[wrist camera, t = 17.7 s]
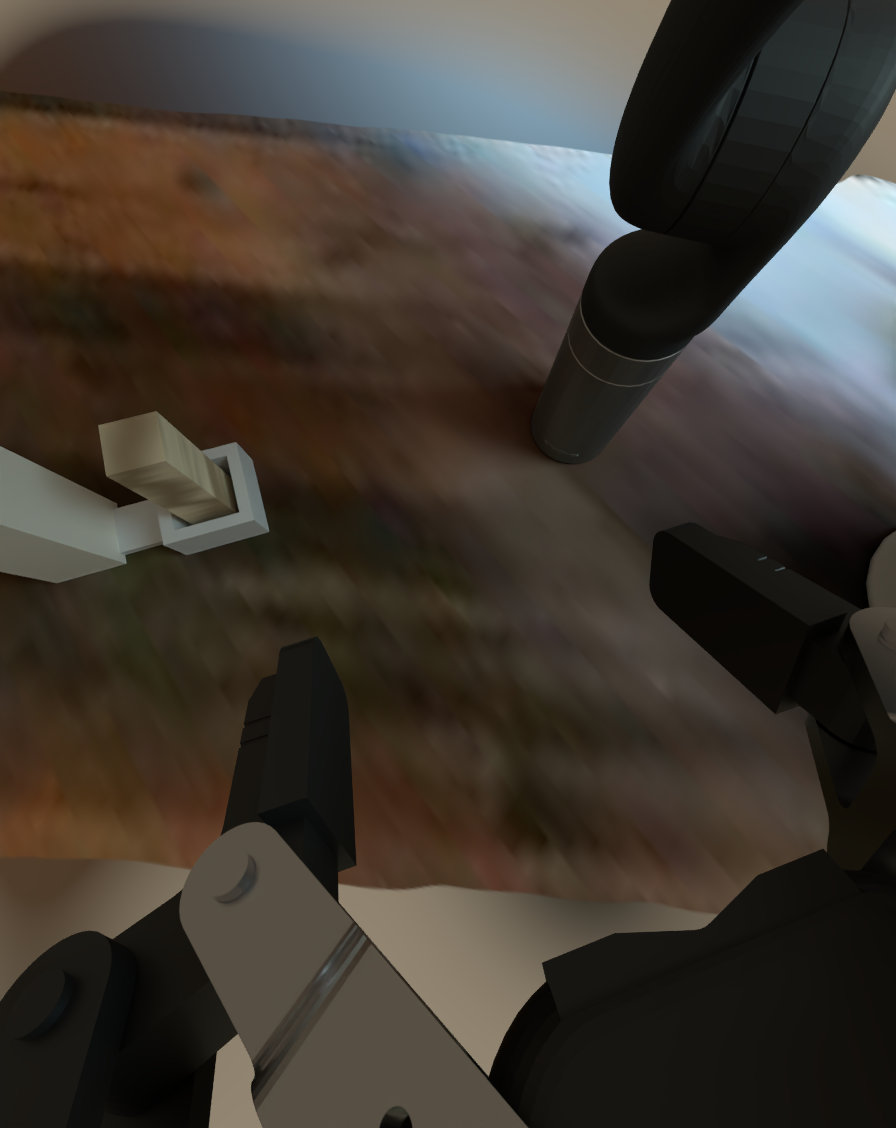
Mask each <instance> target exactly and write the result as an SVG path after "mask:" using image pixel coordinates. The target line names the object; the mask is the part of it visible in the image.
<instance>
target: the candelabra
mask: <svg viewBox="0 0 896 1128" xmlns="http://www.w3.org/2000/svg"><path fill="white" fill-rule="evenodd" d="M866 588H867V595H868V603H869V608H871V607H893V608H896V531H895V532H893V533H892V534H890V535H889V536H887V537H886V538H885V539H884V540H883V541H882V543H881V544H880V546H879V547H878V549H877V550H876V552H875V554H874V555H873V557H872V558H871V560H870V565H869V570H868V575H867V580H866Z"/></svg>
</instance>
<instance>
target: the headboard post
mask: <svg viewBox="0 0 896 1128" xmlns="http://www.w3.org/2000/svg"><path fill="white" fill-rule="evenodd" d="M201 452H203V453H204V454H205V455H206V456H207V457H208V458H209V459H210V460H212V461H213V462H214V463H215V464H216V465H217V466H218V467H219V468H221V469H222V470H223V471H224V472H225V473H226V474H227V475H228V476H231V477H232V481H233V486H234V490H235V495H236V499H237V504H238V508H239V513H235V514H232V515H228V516H224V517H221V518H217V519H213V520H210V521H206V522H203V523H199V524H195V525H193V524H191V523H189V522H188V521H186V520H184V519H182V518H180V517H179V516H177V515H175V514H173V513H171V512H170V511H168V510H166V509H164V508H162V507H161V506H159V505H157V504H155V503H153V502H152V501H150V500H146V501H142V502H138V503H135V504H131V505H127V506H123V507H120V508H118V507H117V503H115V502H113V501H111V500H109V499H107V498H105V497H103V496H101V495H99V494H96V493H94V492H92V491H90V490H88V489H86V488H84V487H82V486H80V485H78V484H76V483H74V482H72V481H70V480H68V479H66V478H64V477H62V476H60V475H58V474H56V473H54V472H52V471H50V470H48V469H46V468H44V467H42V466H39V465H37V464H35V463H33V462H31V461H29V460H27V459H25V458H23V457H21V456H19V455H17V454H15V453H13V452H11V451H9V450H7V449H5V448H3V447H1V446H0V572H4V573H9V574H14V575H19V576H24V577H29V578H34V579H39V580H44V581H49V582H54V583H60V582H63V581H67V580H70V579H74V578H78V577H81V576H85V575H88V574H92V573H95V572H99V571H103V570H106V569H110V568H113V567H117V566H120V565H124V564H127V563H126V557H125V555H127V554H130V553H134V552H138V551H141V550H145V549H148V548H152V547H156V546H159V545H164V546H166V547H169V548H171V549H174V550H176V551H178V552H181V553H183V554H185V555H189V554H193V553H196V552H200V551H203V550H207V549H210V548H214V547H218V546H221V545H225V544H228V543H232V542H235V541H239V540H242V539H246V538H249V537H253V536H257V535H260V534H264V533H267V532H269V528H268V524H267V520H266V515H265V511H264V507H263V503H262V499H261V494H260V490H259V486H258V482H257V477H256V473H255V469H254V465H253V461H252V459H251V458H250V457H249V456H248V455H247V453H246V452H245V451H244V450H243V449H242V448H241V447H240V446H239V445H238V444H237V443H236V442H235V443H231V444H227V445H223V446H219V447H215V448H211V449H208V450H204V451H201Z"/></svg>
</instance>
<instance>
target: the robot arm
mask: <svg viewBox="0 0 896 1128" xmlns="http://www.w3.org/2000/svg"><path fill="white" fill-rule="evenodd" d="M895 89H896V0H671V2H670V4H669V6H668V8H667V10H666V12H665V15H664V17H663V19H662V22H661V23H660V26H659V28H658V30H657V32H656V34H655V37H654V39H653V41H652V43H651V45H650V48H649V50H648V52H647V54H646V57H645V59H644V61H643V64H642V66H641V69H640V71H639V73H638V76H637V78H636V81H635V83H634V86H633V88H632V91H631V94H630V97H629V99H628V102H627V105H626V108H625V110H624V114H623V117H622V120H621V123H620V126H619V130H618V133H617V137H616V141H615V146H614V150H613V155H612V161H611V167H610V179H609V185H610V196H611V201H612V204H613V206H614V209H615V211H616V212H617V214H618V215H619V216H620V217H621V218H622V219H623V220H625V221H626V222H628V223H630V224H631V225H633V226H636V227H638V228H640V229H641V230H638V231H634V232H631V233H629V234H626V235H624V236H622V237H620V238H618V239H616V240H615V241H614V242H612V243H611V244H610V245H609V246H607V247H606V248H605V249H604V250H603V251H602V253H601V254H600V255H599V257H598V258H597V260H596V261H595V263H594V265H593V267H592V269H591V271H590V273H589V276H588V278H587V281H586V283H585V286H584V288H583V291H582V294H581V296H580V299H579V301H578V304H577V306H576V309H575V311H574V314H573V316H572V319H571V321H570V324H569V326H568V329H567V331H566V334H565V336H564V339H563V341H562V344H561V346H560V349H559V351H558V354H557V356H556V358H555V361H554V363H553V366H552V368H551V371H550V373H549V376H548V378H547V381H546V383H545V385H544V388H543V390H542V393H541V395H540V397H539V400H538V402H537V405H536V407H535V410H534V412H533V415H532V419H531V431H532V436H533V438H534V440H535V442H536V444H537V445H538V447H539V448H540V449H541V450H542V451H543V452H544V453H545V454H546V455H548V456H549V457H551V458H553V459H554V460H557V461H560V462H563V463H569V464H575V463H582V462H587V461H589V460H591V459H593V458H594V457H596V456H597V455H598V454H599V453H600V452H601V451H602V450H603V449H604V447H605V446H606V445H607V444H608V443H609V441H610V440H611V439H612V438H613V436H614V435H615V434H616V433H617V432H618V431H619V429H620V428H621V427H622V426H623V424H624V423H625V422H626V421H627V419H628V418H629V417H630V416H631V414H632V413H633V412H634V411H635V410H636V408H637V407H638V406H639V405H640V403H641V402H642V401H643V400H644V398H645V397H646V396H647V395H648V393H649V392H650V391H651V390H652V388H653V387H654V386H655V385H656V383H657V382H658V381H659V380H660V379H661V377H662V376H663V375H664V374H665V372H666V371H667V370H668V368H669V367H670V366H671V365H672V363H673V362H674V361H675V360H676V358H677V357H678V356H679V355H680V353H681V352H682V351H683V350H684V348H685V347H686V346H687V345H688V343H689V342H690V341H691V340H692V338H693V337H694V336H696V335H697V334H699V333H701V332H702V331H704V330H705V329H706V328H708V327H709V326H710V325H711V324H712V323H713V322H714V321H715V320H716V319H717V318H718V317H719V316H720V315H721V314H722V313H723V311H724V310H725V309H726V308H727V307H728V306H729V305H730V303H731V302H732V301H733V300H734V299H735V298H736V297H737V296H738V295H739V293H740V292H741V291H742V290H743V289H744V288H745V287H746V286H747V285H748V284H749V282H750V281H751V280H752V279H753V278H754V277H755V276H756V275H757V274H758V273H759V272H760V271H761V269H762V268H763V267H764V266H765V265H766V264H767V263H768V262H769V261H770V260H771V259H772V258H773V257H774V256H775V255H776V253H777V252H778V251H779V250H780V249H781V248H782V247H783V246H784V245H785V244H786V243H787V242H788V241H789V239H790V238H791V237H792V236H793V235H794V234H795V233H796V232H797V230H798V229H799V228H800V227H801V226H802V225H803V224H804V223H805V221H806V220H807V219H808V218H809V217H810V216H811V215H812V214H813V212H814V211H815V210H816V209H817V208H818V206H819V205H820V204H821V203H822V202H823V200H824V199H825V198H826V196H827V195H828V194H829V193H830V191H831V190H832V189H833V188H834V186H835V185H836V184H837V183H838V181H839V180H840V179H841V177H842V176H843V175H844V173H845V172H846V171H847V170H848V168H849V167H850V165H851V164H852V162H853V161H854V160H855V158H856V157H857V155H858V154H859V152H860V151H861V149H862V147H863V146H864V144H865V143H866V141H867V140H868V138H869V137H870V135H871V133H872V132H873V130H874V129H875V127H876V125H877V124H878V122H879V121H880V119H881V117H882V115H883V114H884V112H885V110H886V108H887V106H888V104H889V102H890V100H891V98H892V96H893V94H894V92H895ZM649 586H650V592H651V595H652V598H653V600H654V602H655V603H656V605H657V606H658V607H659V609H660V610H662V611H663V612H664V613H665V614H666V615H667V616H668V617H669V618H670V619H671V620H673V621H674V622H675V623H676V624H677V625H678V626H679V627H680V628H681V629H682V630H684V631H685V632H686V633H687V634H688V635H689V636H690V637H691V638H692V639H693V640H695V641H696V642H697V643H698V644H699V645H700V646H701V647H702V648H703V649H704V650H706V651H707V652H708V653H709V654H710V655H711V656H712V657H713V658H714V659H715V660H717V661H718V662H719V663H720V664H721V665H722V666H723V667H724V668H725V669H726V670H728V671H729V672H730V673H731V674H732V675H733V676H734V677H735V678H736V679H737V680H738V681H740V682H741V683H742V684H743V685H744V686H745V687H746V688H747V689H748V690H749V691H751V692H752V693H753V694H754V695H755V696H756V697H757V698H758V699H759V700H760V701H762V702H763V703H764V704H765V705H766V706H767V707H768V708H769V709H770V710H771V711H773V712H774V713H775V714H778V713H781V712H783V711H786V710H789V709H792V708H794V707H797V706H801V707H802V708H803V709H805V710H806V711H807V712H808V715H807V717H806V722H805V724H806V729H807V733H808V737H809V741H810V745H811V749H812V753H813V757H814V760H815V764H816V768H817V772H818V776H819V780H820V784H821V788H822V792H823V795H824V799H825V803H826V807H827V811H828V816H829V836H828V843H827V852H826V851H825V850H824V849H821V850H819V851H816V852H814V853H812V854H809V855H807V856H804V857H802V858H799V859H797V860H794V861H792V862H789V863H787V864H784V865H782V866H779V867H777V868H775V869H772V870H770V871H767V872H765V873H762V874H760V875H758V876H757V877H756V878H755V879H754V880H753V881H752V882H751V883H750V884H749V885H748V886H747V887H746V888H745V889H744V890H743V891H742V892H741V893H740V894H739V895H738V896H737V897H736V898H735V899H734V900H733V901H732V902H731V903H730V904H729V905H728V906H727V907H726V908H725V909H724V910H723V911H722V912H721V913H720V914H719V915H718V916H717V917H716V918H715V919H714V920H713V921H712V922H711V923H710V924H708V925H707V926H706V927H704V928H702V929H698V930H686V931H662V932H637V933H636V932H635V933H614V934H612V935H609V936H607V937H604V938H602V939H600V940H597V941H595V942H592V943H590V944H587V945H585V946H582V947H580V948H577V949H575V950H572V951H570V952H567V953H565V954H563V955H560V956H558V957H555V958H553V959H550V960H548V961H546V962H543V963H542V965H543V969H544V974H545V978H546V982H545V983H544V984H543V985H542V986H541V987H540V988H539V989H538V990H537V991H536V992H535V993H534V994H533V995H532V996H531V997H530V999H529V1000H528V1001H527V1002H526V1003H525V1005H524V1006H523V1007H522V1009H521V1010H520V1011H519V1012H518V1014H517V1015H516V1017H515V1019H514V1021H513V1022H512V1024H511V1026H510V1027H509V1029H508V1031H507V1032H506V1034H505V1036H504V1038H503V1041H502V1043H501V1046H500V1048H499V1050H498V1052H497V1054H496V1057H495V1059H494V1062H493V1065H492V1068H491V1072H490V1075H489V1077H488V1075H487V1074H486V1073H485V1072H484V1071H483V1070H482V1068H481V1067H480V1066H479V1065H478V1064H477V1063H476V1061H475V1060H474V1059H473V1058H472V1057H471V1056H470V1055H469V1053H468V1052H467V1051H466V1050H465V1049H464V1047H463V1046H462V1045H461V1044H460V1043H459V1042H458V1040H456V1038H455V1037H454V1036H453V1035H452V1034H451V1032H450V1031H449V1030H448V1029H447V1028H446V1027H445V1025H443V1023H442V1022H441V1021H440V1020H439V1018H438V1017H437V1016H436V1015H435V1014H434V1013H433V1011H432V1010H431V1009H430V1008H429V1007H428V1006H427V1005H426V1003H425V1002H424V1001H423V1000H422V999H421V998H420V996H419V995H418V994H417V993H416V992H415V991H414V990H413V989H412V987H411V986H410V985H409V984H408V983H407V981H406V980H405V979H404V978H403V977H402V976H401V975H400V973H399V972H398V971H397V970H396V969H395V967H394V966H393V965H392V964H391V963H390V962H389V960H388V959H387V958H386V957H385V956H384V955H383V954H382V952H381V951H380V950H379V949H378V948H377V947H376V945H375V944H374V943H373V942H372V941H371V940H370V938H369V937H368V936H367V935H366V934H365V933H364V931H363V930H362V929H361V928H360V927H359V926H358V924H357V923H356V922H355V921H354V920H353V918H352V917H351V916H350V915H349V914H348V913H347V912H346V910H345V909H344V908H343V907H342V906H341V905H340V903H339V902H338V872H340V871H342V870H345V869H348V868H351V867H353V866H356V848H355V828H354V809H353V789H352V770H351V750H350V731H349V711H348V703H347V698H346V694H345V691H344V688H343V685H342V683H341V680H340V678H339V676H338V674H337V672H336V670H335V668H334V666H333V664H332V662H331V660H330V658H329V656H328V654H327V652H326V650H325V648H324V646H323V644H322V642H321V641H320V639H319V638H318V637H313V638H310V639H307V640H303V641H300V642H297V643H294V644H290V645H287V646H284V647H282V648H281V650H280V654H279V661H278V668H277V674H275V675H272V676H269V677H265V678H262V680H261V682H260V683H259V685H258V686H257V688H256V690H255V691H254V693H253V695H252V696H251V698H250V699H249V701H248V706H247V711H246V716H245V721H244V725H245V728H243V731H242V736H241V741H240V744H241V748H239V751H238V756H237V761H236V766H235V771H234V776H233V781H232V786H231V791H230V796H229V801H228V806H227V811H226V816H225V821H224V826H223V829H222V833H221V836H220V837H219V838H218V839H216V840H215V841H214V842H213V843H212V844H211V845H210V846H209V847H208V848H207V849H206V850H205V851H204V852H203V854H202V855H201V856H200V858H199V859H198V860H197V862H196V863H195V865H194V866H193V868H192V870H191V871H190V873H189V876H188V878H187V880H186V882H185V885H184V888H183V889H182V890H181V891H180V892H179V893H178V894H176V895H175V896H174V897H172V898H171V899H170V900H168V901H167V902H165V903H164V904H162V905H161V906H160V907H158V908H157V909H155V910H154V911H152V912H151V913H150V914H148V915H147V916H146V917H144V918H143V919H141V920H140V921H138V922H137V923H135V924H134V925H132V926H131V927H130V928H128V929H127V930H125V931H124V932H122V933H121V934H120V935H118V936H117V937H115V938H114V939H110V938H108V937H106V936H104V935H103V934H101V933H99V932H95V931H84V932H80V933H77V934H74V935H71V936H69V937H67V938H65V939H63V940H62V941H60V942H58V943H57V944H55V945H54V946H52V947H51V948H49V949H48V950H47V951H46V952H44V953H43V954H42V955H41V956H40V957H38V958H37V959H36V960H35V961H34V962H33V963H32V964H31V965H30V966H29V967H28V968H27V969H26V970H25V971H24V972H23V973H22V975H20V977H19V978H18V979H17V980H16V981H15V983H14V984H13V985H12V986H11V988H10V989H9V990H8V991H7V993H6V994H5V996H4V997H3V999H2V1000H1V1001H0V1128H209V1118H210V1109H211V1100H212V1090H213V1081H214V1073H215V1063H216V1053H217V1051H218V1050H219V1049H221V1048H222V1047H223V1046H224V1045H225V1044H226V1043H228V1042H229V1041H230V1040H231V1039H232V1038H233V1037H235V1036H236V1035H237V1034H239V1036H240V1038H241V1040H242V1042H243V1044H244V1046H245V1048H246V1050H247V1052H248V1054H249V1056H250V1058H251V1061H252V1063H253V1067H254V1071H255V1076H254V1079H253V1081H252V1084H251V1093H252V1098H253V1103H254V1106H255V1109H256V1112H257V1115H258V1117H259V1120H260V1122H261V1125H262V1127H263V1128H896V608H893V607H871V608H866V609H862V610H861V609H860V608H858V607H856V606H854V605H852V604H851V603H849V602H847V601H845V600H844V599H842V598H840V597H838V596H836V595H835V594H833V593H831V592H829V591H828V590H826V589H824V588H822V587H821V586H819V585H817V584H815V583H814V582H812V581H810V580H808V579H806V578H805V577H803V576H801V575H799V574H798V573H796V572H794V571H792V570H791V569H787V570H786V569H785V566H784V565H782V564H780V563H778V562H777V561H775V560H773V559H771V558H770V559H767V556H766V555H764V554H762V553H761V552H759V551H757V550H755V549H754V548H752V547H750V546H748V545H747V544H744V543H741V542H738V541H734V540H731V539H728V538H724V537H721V536H716V535H715V534H713V533H711V532H709V531H708V530H706V529H704V528H703V527H701V526H699V525H698V524H695V523H692V522H689V523H685V524H682V525H679V526H676V527H672V528H669V529H666V530H663V531H659V532H658V533H657V534H656V535H655V537H654V540H653V550H652V561H651V572H650V584H649Z"/></svg>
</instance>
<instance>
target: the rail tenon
mask: <svg viewBox="0 0 896 1128" xmlns="http://www.w3.org/2000/svg"><path fill="white" fill-rule="evenodd" d="M98 427H99V433H100V439H101V446H102V452H103V459H104V465H105V472H106V476H107V477H109V478H110V479H112V480H114V481H116V482H118V483H119V484H121V485H123V486H125V487H127V488H128V489H130V490H132V491H134V492H136V493H137V494H139V495H141V496H143V497H145V498H146V499H148V500H150V501H152V502H153V503H155V504H157V505H159V506H161V507H162V508H164V509H166V510H168V511H170V512H171V513H173V514H175V515H177V516H179V517H180V518H182V519H184V520H186V521H188V522H189V523H191V524H193V525H195V524H199V523H203V522H206V521H210V520H213V519H217V518H221V517H224V516H228V515H232V514H235V513H239V508H238V504H237V499H236V495H235V490H234V486H233V481H232V478H231V477H230V476H228V475H227V474H226V473H225V472H224V471H223V470H222V469H221V468H219V467H218V466H217V465H216V464H215V463H214V462H213V461H212V460H210V459H209V458H208V457H207V456H206V455H205V454H204V453H203V452H201V451H200V450H199V449H198V448H197V447H196V446H195V445H194V444H193V443H191V442H190V441H189V440H188V439H187V438H186V437H185V436H184V435H182V434H181V433H180V432H179V431H178V430H177V429H176V428H175V427H173V426H172V425H171V424H170V423H169V422H168V421H167V420H166V419H164V418H163V417H162V416H161V415H160V414H159V413H158V412H157V411H155V412H151V413H147V414H143V415H139V416H135V417H131V418H126V419H122V420H118V421H114V422H110V423H106V424H102V425H98Z"/></svg>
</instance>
